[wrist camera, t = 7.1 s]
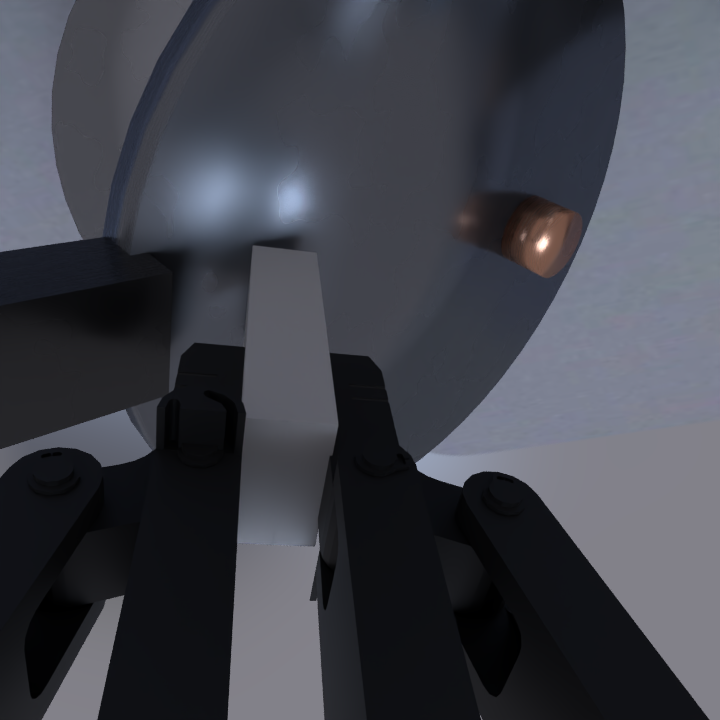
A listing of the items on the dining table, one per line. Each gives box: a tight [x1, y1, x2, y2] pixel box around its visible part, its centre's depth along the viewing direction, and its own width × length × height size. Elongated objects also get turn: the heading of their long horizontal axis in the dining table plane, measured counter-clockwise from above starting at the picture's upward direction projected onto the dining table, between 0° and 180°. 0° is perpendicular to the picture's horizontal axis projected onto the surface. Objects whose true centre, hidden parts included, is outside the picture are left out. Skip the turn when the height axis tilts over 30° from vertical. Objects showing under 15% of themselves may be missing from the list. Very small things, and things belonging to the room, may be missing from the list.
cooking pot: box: [52, 0, 193, 240], centre depth 31 cm, size 27×20×11 cm
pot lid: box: [0, 0, 626, 463], centre depth 20 cm, size 20×24×3 cm
